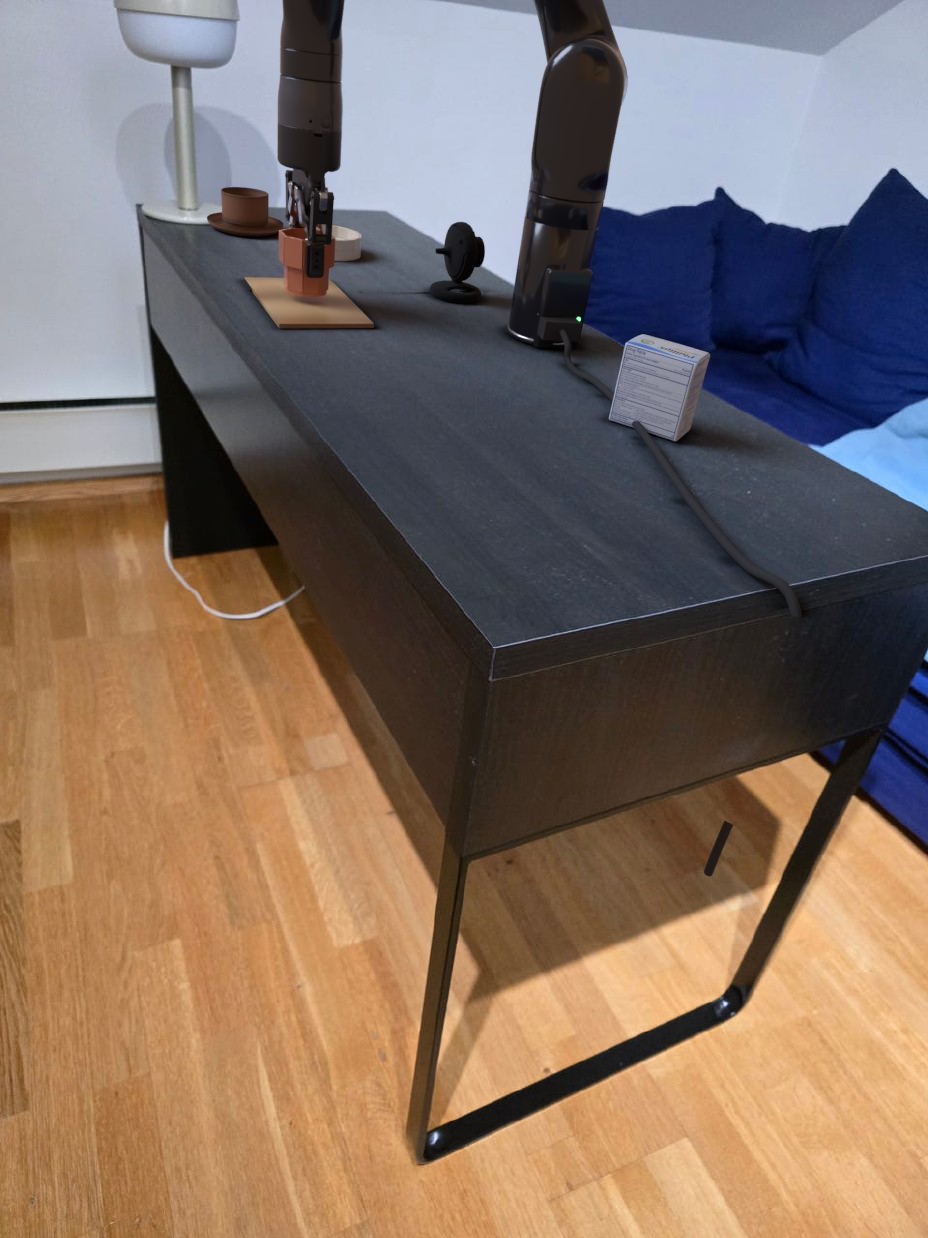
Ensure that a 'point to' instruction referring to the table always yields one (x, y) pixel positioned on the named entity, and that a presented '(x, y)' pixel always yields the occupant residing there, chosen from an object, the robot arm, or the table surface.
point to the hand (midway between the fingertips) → (306, 268)
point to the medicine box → (659, 386)
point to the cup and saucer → (245, 213)
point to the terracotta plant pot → (302, 264)
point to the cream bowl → (346, 243)
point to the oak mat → (307, 306)
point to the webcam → (460, 264)
